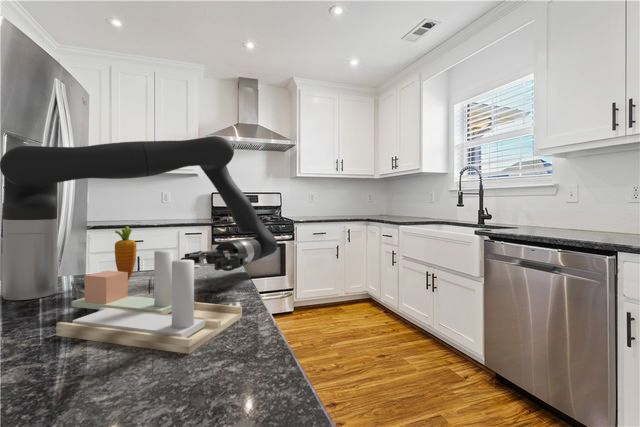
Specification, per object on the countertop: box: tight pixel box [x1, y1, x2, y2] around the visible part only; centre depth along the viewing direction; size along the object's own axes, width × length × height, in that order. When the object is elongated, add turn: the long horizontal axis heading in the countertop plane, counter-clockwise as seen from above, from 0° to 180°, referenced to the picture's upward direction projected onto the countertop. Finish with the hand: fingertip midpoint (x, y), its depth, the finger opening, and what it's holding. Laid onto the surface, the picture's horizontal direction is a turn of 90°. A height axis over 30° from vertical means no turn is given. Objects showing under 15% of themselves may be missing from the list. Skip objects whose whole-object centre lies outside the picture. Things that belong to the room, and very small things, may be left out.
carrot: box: [114, 225, 137, 281], centre depth 87 cm, size 5×5×15 cm
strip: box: [72, 259, 205, 337], centre depth 53 cm, size 20×6×11 cm, turn 76°
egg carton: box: [70, 280, 85, 300], centre depth 73 cm, size 11×8×4 cm
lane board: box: [56, 296, 243, 355], centre depth 57 cm, size 24×16×2 cm, turn 76°
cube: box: [84, 270, 129, 304], centre depth 64 cm, size 5×5×5 cm
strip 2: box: [71, 249, 174, 314], centre depth 63 cm, size 20×6×11 cm, turn 76°
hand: (198, 264), depth 72 cm, fingers open, 8 cm apart
